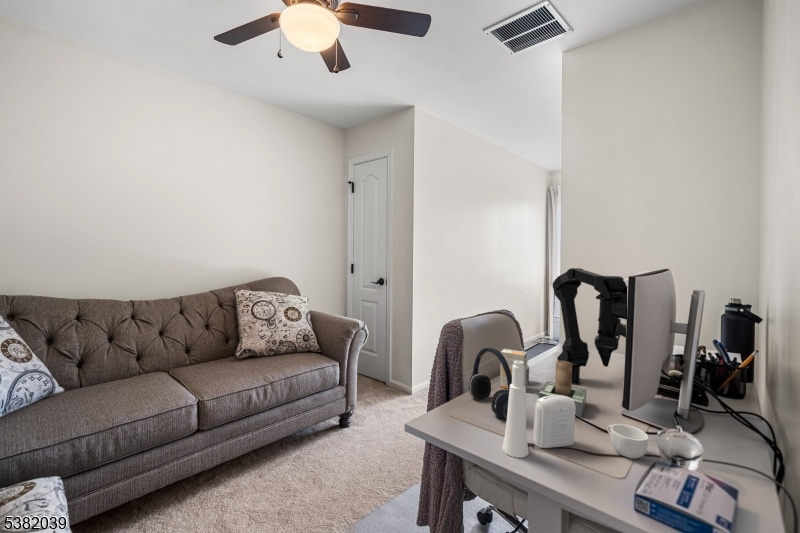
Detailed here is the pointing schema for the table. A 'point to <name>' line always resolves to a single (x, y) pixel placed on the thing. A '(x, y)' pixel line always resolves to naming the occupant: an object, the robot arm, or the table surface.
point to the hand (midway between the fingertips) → (606, 362)
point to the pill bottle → (527, 375)
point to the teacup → (628, 440)
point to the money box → (576, 395)
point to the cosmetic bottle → (516, 415)
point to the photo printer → (554, 421)
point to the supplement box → (510, 358)
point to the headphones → (482, 385)
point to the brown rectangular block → (563, 378)
